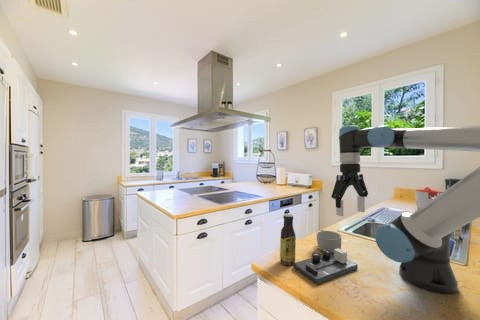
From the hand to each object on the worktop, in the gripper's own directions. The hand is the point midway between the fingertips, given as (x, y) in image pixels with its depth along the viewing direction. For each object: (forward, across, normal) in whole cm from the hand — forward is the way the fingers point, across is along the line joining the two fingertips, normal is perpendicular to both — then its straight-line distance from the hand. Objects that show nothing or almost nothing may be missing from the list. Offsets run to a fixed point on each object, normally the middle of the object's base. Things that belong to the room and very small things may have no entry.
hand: (350, 213), depth 84 cm
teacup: (+20, -1, -13) cm, 24 cm away
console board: (+20, +14, -2) cm, 25 cm away
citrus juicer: (+20, -131, -25) cm, 135 cm away
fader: (+18, +7, 0) cm, 19 cm away
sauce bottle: (+20, +24, -12) cm, 34 cm away
